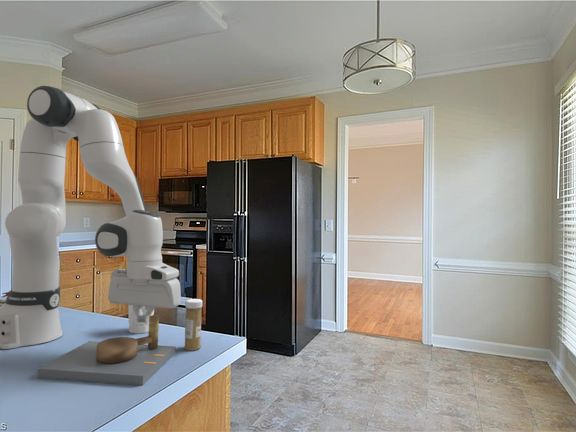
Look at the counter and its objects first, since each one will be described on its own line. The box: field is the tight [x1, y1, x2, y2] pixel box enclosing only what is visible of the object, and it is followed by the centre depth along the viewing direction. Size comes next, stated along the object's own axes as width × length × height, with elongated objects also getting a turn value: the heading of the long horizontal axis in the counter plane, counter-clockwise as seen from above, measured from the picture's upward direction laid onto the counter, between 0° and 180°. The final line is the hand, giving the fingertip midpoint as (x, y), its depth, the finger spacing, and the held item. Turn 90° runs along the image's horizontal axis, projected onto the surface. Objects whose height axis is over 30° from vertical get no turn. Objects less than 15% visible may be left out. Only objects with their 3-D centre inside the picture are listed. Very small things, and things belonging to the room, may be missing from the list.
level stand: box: [36, 340, 176, 386], centre depth 86 cm, size 24×18×2 cm
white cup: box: [127, 305, 155, 335], centre depth 112 cm, size 8×8×10 cm
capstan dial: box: [96, 314, 160, 363], centre depth 88 cm, size 15×9×8 cm, turn 136°
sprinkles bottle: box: [184, 298, 203, 351], centre depth 99 cm, size 5×5×14 cm
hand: (143, 321), depth 94 cm, fingers closed
